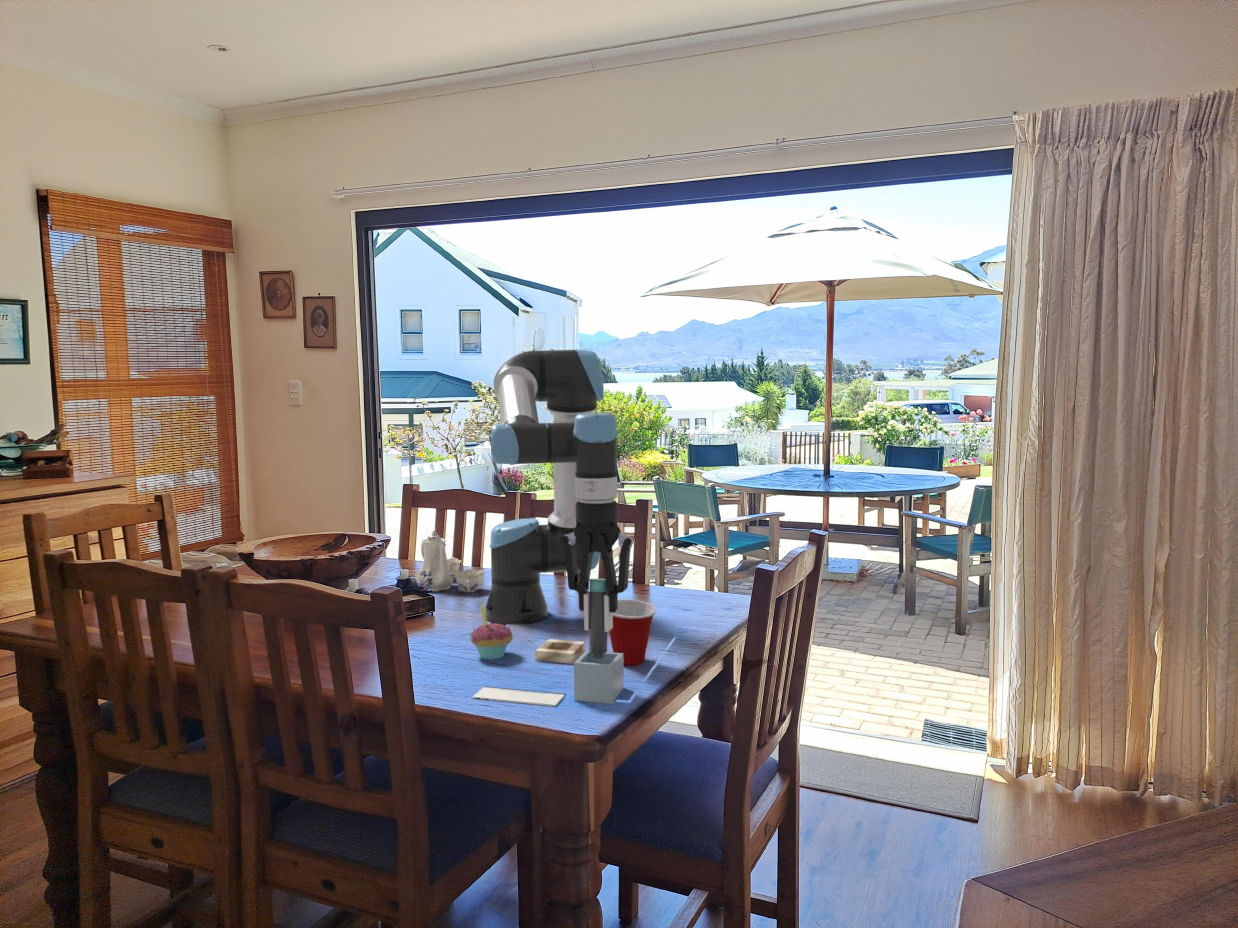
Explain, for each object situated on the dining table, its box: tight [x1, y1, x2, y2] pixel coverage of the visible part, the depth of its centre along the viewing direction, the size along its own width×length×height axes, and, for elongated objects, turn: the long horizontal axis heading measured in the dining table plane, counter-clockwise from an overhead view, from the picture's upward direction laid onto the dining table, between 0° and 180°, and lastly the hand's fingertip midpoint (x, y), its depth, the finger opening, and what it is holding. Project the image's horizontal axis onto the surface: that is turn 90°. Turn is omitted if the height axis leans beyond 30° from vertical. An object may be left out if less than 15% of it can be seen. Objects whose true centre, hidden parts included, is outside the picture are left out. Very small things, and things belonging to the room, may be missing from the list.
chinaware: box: [415, 530, 485, 593], centre depth 240 cm, size 28×17×17 cm, turn 36°
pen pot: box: [573, 649, 625, 705], centre depth 156 cm, size 7×7×7 cm
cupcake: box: [470, 601, 514, 660], centre depth 178 cm, size 9×8×12 cm
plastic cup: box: [608, 599, 658, 667], centre depth 173 cm, size 11×11×12 cm
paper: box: [472, 685, 567, 707], centre depth 161 cm, size 16×14×1 cm
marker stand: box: [534, 638, 586, 665], centre depth 178 cm, size 8×8×2 cm
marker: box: [588, 578, 608, 658], centre depth 155 cm, size 3×3×14 cm
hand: (598, 628), depth 155 cm, fingers closed on marker, 3 cm apart
